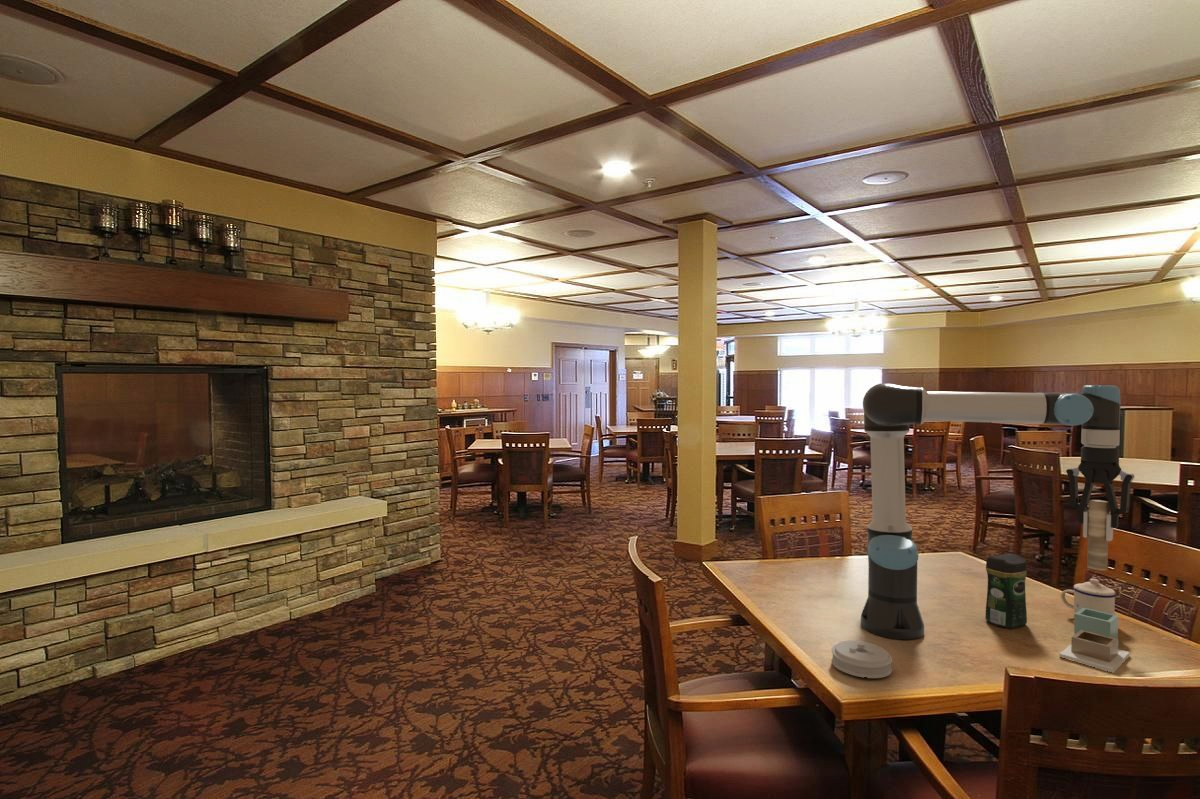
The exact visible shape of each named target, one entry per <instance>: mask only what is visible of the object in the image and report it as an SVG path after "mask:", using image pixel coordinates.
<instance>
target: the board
mask: <svg viewBox="0 0 1200 799" xmlns="http://www.w3.org/2000/svg"><path fill="white" fill-rule="evenodd" d="M1130 653H1131V652H1130V651H1126V650H1123V649H1119V648H1118V655H1117V656H1116V657H1115V658H1114V659H1113V660H1112V661H1111V662H1106V661H1103V660H1099V659H1096V658H1092V657H1088V656H1085V655H1081V654H1078V653H1074V652H1071V644H1069V645H1068V646H1067V647H1065V649H1063V650H1062V651H1060V653H1059V656H1060V657H1063V658H1067V659H1071V660H1074V661H1077V662H1081V663H1083V664H1087V665H1090V666H1092V667H1091V668H1093V667H1095V668H1094V669H1097V668H1099V669H1098V670H1100V669H1101V671H1104V672H1107V671H1108V672H1107V673H1110V672H1112V673H1111V674H1114V673H1115V672H1116V671H1117V670H1118V669H1119V668H1120V667H1121V666H1122V665H1123V664H1124V662H1126V661H1125V660H1126V659H1127V660H1128V659H1129V658H1130ZM1122 663H1123V664H1122ZM1083 664H1082V665H1083ZM1090 666H1089V667H1090Z"/></svg>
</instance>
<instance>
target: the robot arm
mask: <svg viewBox="0 0 1200 799" xmlns="http://www.w3.org/2000/svg"><path fill="white" fill-rule="evenodd" d="M1121 400H1122V399H1121V391H1120V388H1119V387H1118V386H1117V385H1102V384H1101V385H1098V384H1097V385H1093V384H1089V385H1088V384H1087V385H1083V387H1082V390H1081V392H1044V391H1041V392H1002V391H1001V392H994V391H993V392H992V391H989V392H988V391H927V390H926V389H925V388H924V387H917V386H915V387H914V386H904V385H899V384H895V383H891V382H890V383H888V382H883V383H882V382H881V383H878V384H875V385H873V386H872V387H870V388H868V390H867V391H866V392H865V394H864V397H863V398H862V410H863V424H864V425H863V427H864V428H863V429H864V430H863V431H864V433H866V434H867V435H868V436H869V438H870V440H869V441H870V471H871V473H870V474H871V475H870V476H871V501H872V503H871V505H872V507H871V508H872V509H871V510H872V511H871V512H872V514H871V515H872V520H871V521H870V522H869V523H868V524H867V525H866V527H867V528H866V531H867V532H866V535H867V536H866V537H867V545H866V553H867V561H868V562H867V563H868V579H867V581H868V584H867V586H868V588H867V589H868V590H867V592H868V593H867V599H866V601H865V604H864V607H863V609H862V612H861V614H860V625H861V627H862V628H863V629H864V630H865V631H867V632H869V633H871V634H874V635H876V636H880V637H884V638H887V639H893V640H903V639H904V641H905V640H907V639H909V640H917V639H919V638H922V637H923V636H924V634H925V623H924V620H923V617H922V614H921V610H920V608H919V605H918V560H919V552H918V547H917V545H916V543H915V542H914V541H913V540H914V539H913V528H912V526H911V525H909V523H908V522H907V515H906V514H907V513H906V511H907V510H906V476H905V475H906V474H905V472H906V471H905V441H904V440H905V436H906V435H907V434H908V433H910V425H923V424H924V423H925V422H929V421H930V422H931V421H932V422H958V423H959V422H961V423H963V422H964V423H965V422H966V423H967V422H970V423H999V424H1001V423H1003V424H1005V423H1006V424H1007V423H1008V424H1036V425H1038V424H1040V425H1041V424H1043V425H1065V426H1069V427H1071V426H1072V427H1073V426H1075V427H1077V426H1080V425H1081V433H1080V434H1081V436H1080V437H1081V438H1080V443H1081V444H1082V447H1080V463H1079V465H1078V467H1073V468H1067V469H1066V470H1065V471H1066V474H1067V476H1068V479H1069V480H1068V481H1069V482H1068V483H1069V484H1068V485H1069V486H1068V487H1069V506H1070V507H1071V508H1074V509H1076V510H1078V522H1079V524H1082V525H1083V529H1082V533H1083V534H1082V537H1083V538H1086V539H1088V508H1089V500H1091V495H1092V492H1093V488H1094V485H1095V484H1096V483H1098V484H1103V487H1104V489H1105V494H1106V499H1107V502H1108V504H1109V514H1107V523H1106V541H1108V542H1111V541H1113V540H1114V529H1117V528H1118V527H1119V520H1120V519H1119V518H1120V517H1119V516H1120V515H1125V514H1127V513H1128V512H1129V508H1130V497H1131V486H1132V485H1131V484H1132V482H1133V480H1134V478H1135V475H1134V473H1128V472H1125V471H1123V470H1122V468H1121V467H1120V448H1118V446H1120V441H1121V440H1120V434H1121V432H1120V430H1121V429H1120V428H1121V427H1120V426H1121V424H1120V422H1121V421H1120V420H1121V405H1122V402H1121ZM1080 473H1081V475H1082V476H1083V477H1084V478H1085V481H1084V487H1083V489H1082V490H1083V491H1082V493H1081V496H1080V500H1079V480H1078V479H1079V478H1078V477H1079V476H1080ZM1118 476H1119V477H1120V481H1121V489H1120V490H1121V492H1120V505H1119V504H1118V500H1117V496H1116V492H1115V488H1114V487H1115V486H1114V481H1115V479H1116V478H1118Z"/></svg>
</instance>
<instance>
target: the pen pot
mask: <svg viewBox="0 0 1200 799" xmlns="http://www.w3.org/2000/svg"><path fill="white" fill-rule="evenodd" d="M1080 630H1084V631H1088V632H1092V633H1096V634H1100V635H1103V636H1107V637H1111V638H1115V639H1119V615H1118V614H1115V613H1114V614H1109V613H1105V612H1101V611H1096V610H1092V609H1088V608H1082V609H1081V610H1079V611H1078V612H1077V613H1075V619H1074V630H1073V631H1074V633H1073V636H1074V635H1075V634H1076V633H1077V632H1079V631H1080Z"/></svg>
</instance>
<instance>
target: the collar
mask: <svg viewBox="0 0 1200 799" xmlns="http://www.w3.org/2000/svg"><path fill="white" fill-rule="evenodd" d="M1070 645H1071V652H1074V653H1078V654H1081V655H1085V656H1088V657H1092V658H1096V659H1099V660H1103V661H1106V662H1111V661H1112V660H1113V659H1114V658H1115V657H1116V656H1117V655H1118V649H1119V638H1118V639H1115V638H1111V637H1107V636H1103V635H1100V634H1096V633H1092V632H1088V631H1084V630H1080V631H1079V632H1077V633H1076V634H1075V635H1074V634H1073V635H1072V636H1071V644H1070Z"/></svg>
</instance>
